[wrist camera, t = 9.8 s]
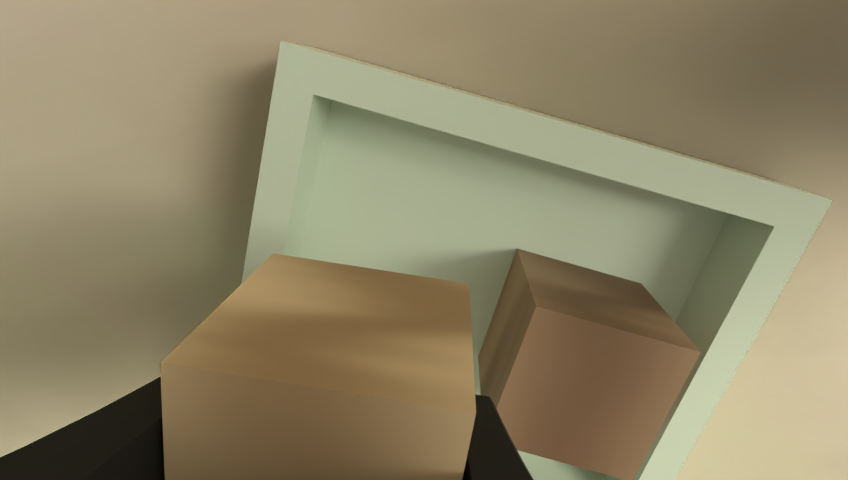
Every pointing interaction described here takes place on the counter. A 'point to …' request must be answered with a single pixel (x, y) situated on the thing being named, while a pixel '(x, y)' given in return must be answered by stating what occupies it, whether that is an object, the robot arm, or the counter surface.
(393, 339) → the block
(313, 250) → the tray
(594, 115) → the counter surface
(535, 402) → the block
